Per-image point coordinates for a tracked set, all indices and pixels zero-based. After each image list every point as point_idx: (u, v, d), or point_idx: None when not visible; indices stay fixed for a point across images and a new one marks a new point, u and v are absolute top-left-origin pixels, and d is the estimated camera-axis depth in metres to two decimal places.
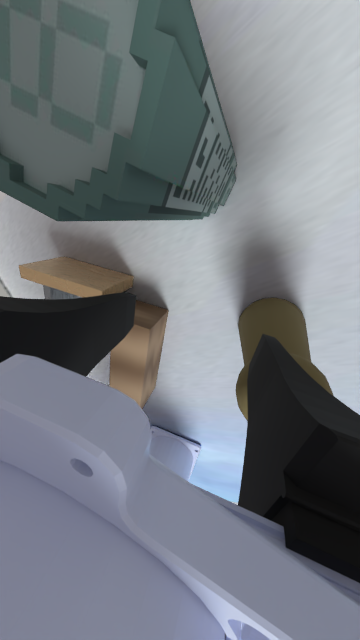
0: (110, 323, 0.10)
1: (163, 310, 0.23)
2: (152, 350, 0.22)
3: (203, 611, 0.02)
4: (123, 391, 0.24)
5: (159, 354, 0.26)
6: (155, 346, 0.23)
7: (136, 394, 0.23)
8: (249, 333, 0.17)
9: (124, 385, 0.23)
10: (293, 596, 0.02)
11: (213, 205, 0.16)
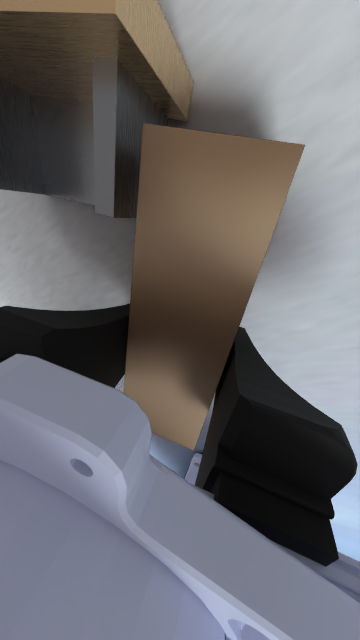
0: None
1: None
2: None
3: (203, 611, 0.02)
4: (160, 394, 0.09)
5: None
6: None
7: (196, 401, 0.09)
8: None
9: (166, 378, 0.09)
10: (293, 596, 0.02)
11: None
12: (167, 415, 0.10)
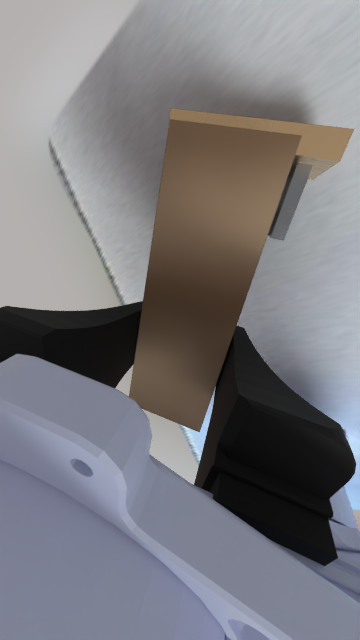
0: (138, 332, 0.10)
1: None
2: None
3: (203, 610, 0.02)
4: (169, 370, 0.10)
5: None
6: None
7: (204, 376, 0.09)
8: None
9: (175, 353, 0.09)
10: (293, 596, 0.02)
11: None
12: (174, 394, 0.10)
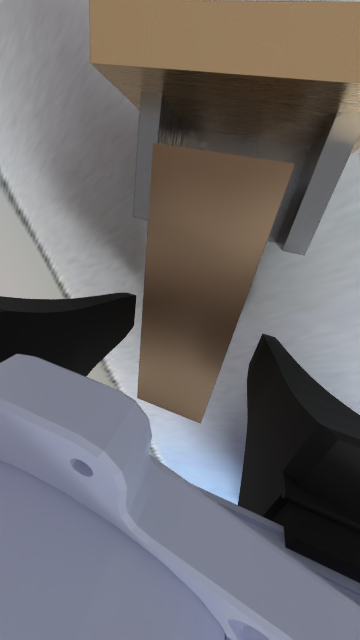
0: (110, 323, 0.10)
1: None
2: None
3: (203, 611, 0.02)
4: (171, 375, 0.11)
5: None
6: None
7: (202, 382, 0.10)
8: None
9: (175, 362, 0.10)
10: (293, 596, 0.02)
11: None
12: (177, 393, 0.11)
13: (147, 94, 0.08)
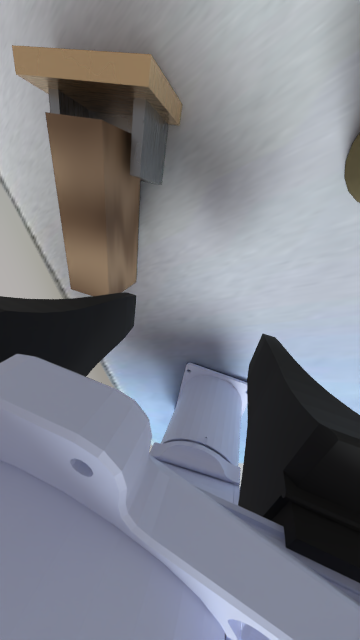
0: (110, 323, 0.10)
1: None
2: (117, 188, 0.15)
3: (203, 611, 0.02)
4: (84, 263, 0.18)
5: (134, 221, 0.19)
6: (122, 188, 0.16)
7: (101, 264, 0.17)
8: None
9: (84, 251, 0.17)
10: (293, 596, 0.02)
11: None
12: (91, 278, 0.18)
13: (52, 89, 0.14)
